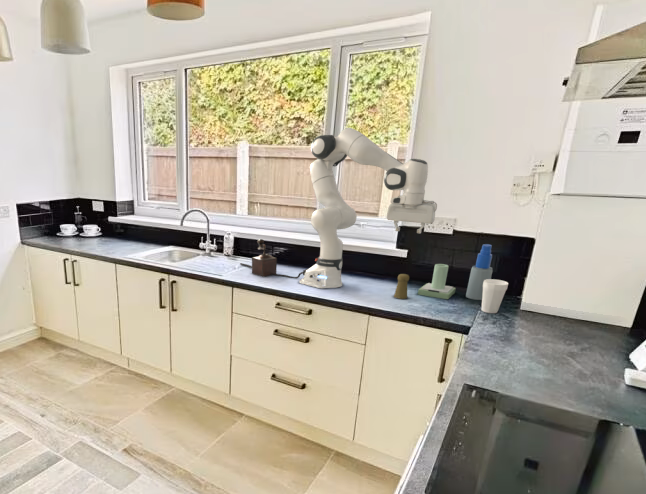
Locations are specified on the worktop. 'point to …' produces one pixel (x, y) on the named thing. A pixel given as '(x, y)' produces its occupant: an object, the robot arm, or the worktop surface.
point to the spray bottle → (480, 273)
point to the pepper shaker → (402, 286)
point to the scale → (436, 291)
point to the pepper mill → (263, 262)
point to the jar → (439, 276)
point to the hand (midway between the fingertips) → (408, 232)
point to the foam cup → (493, 294)
